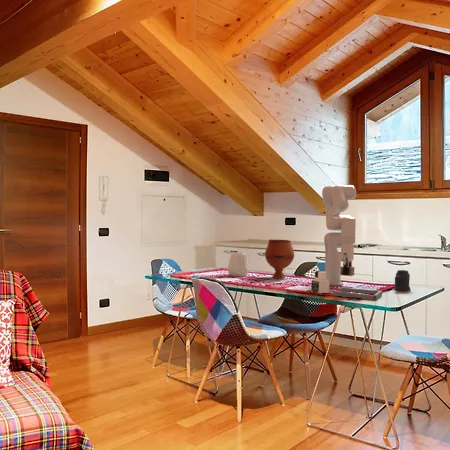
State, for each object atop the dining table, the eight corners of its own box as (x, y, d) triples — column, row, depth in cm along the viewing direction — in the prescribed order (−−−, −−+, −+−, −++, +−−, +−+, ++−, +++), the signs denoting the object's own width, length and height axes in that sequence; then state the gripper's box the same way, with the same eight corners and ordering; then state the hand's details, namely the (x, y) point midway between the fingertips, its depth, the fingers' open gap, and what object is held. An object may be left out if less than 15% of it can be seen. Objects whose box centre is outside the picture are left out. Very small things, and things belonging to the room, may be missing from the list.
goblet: (291, 280, 317) (292, 241, 316) (261, 278, 322) (262, 240, 321) (295, 276, 335) (296, 239, 334) (267, 275, 340) (267, 238, 339)
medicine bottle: (311, 292, 275) (311, 270, 274) (321, 291, 278) (322, 270, 277) (318, 294, 268) (318, 272, 268) (329, 293, 271) (330, 271, 271)
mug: (398, 288, 293) (399, 269, 292) (413, 290, 286) (414, 270, 286) (388, 290, 285) (388, 270, 284) (403, 292, 278) (404, 272, 278)
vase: (249, 274, 342) (249, 252, 342) (248, 277, 328) (248, 254, 328) (229, 273, 344) (229, 251, 343) (226, 276, 330) (227, 253, 329)
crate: (340, 275, 267) (340, 266, 267) (343, 274, 271) (343, 266, 271) (351, 276, 264) (351, 267, 263) (354, 275, 268) (354, 266, 268)
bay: (333, 296, 263) (333, 291, 263) (341, 291, 278) (341, 287, 278) (375, 300, 253) (375, 295, 253) (382, 295, 267) (382, 291, 267)
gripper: (345, 239, 276) (344, 272, 277) (336, 240, 261) (336, 275, 261) (358, 240, 273) (358, 273, 273) (350, 241, 258) (350, 276, 258)
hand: (347, 273), depth 267 cm, fingers closed on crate, 5 cm apart
